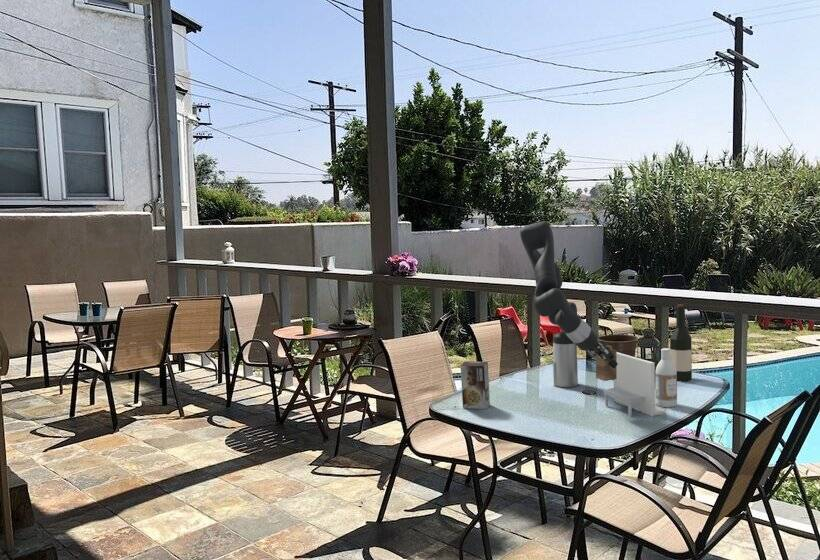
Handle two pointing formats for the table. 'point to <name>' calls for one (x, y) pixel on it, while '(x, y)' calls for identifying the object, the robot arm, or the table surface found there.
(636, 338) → the plant pot
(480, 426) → the table surface
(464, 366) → the coffee box
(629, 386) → the wall shelf
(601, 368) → the brown tall block
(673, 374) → the bath foam
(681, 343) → the wine bottle
